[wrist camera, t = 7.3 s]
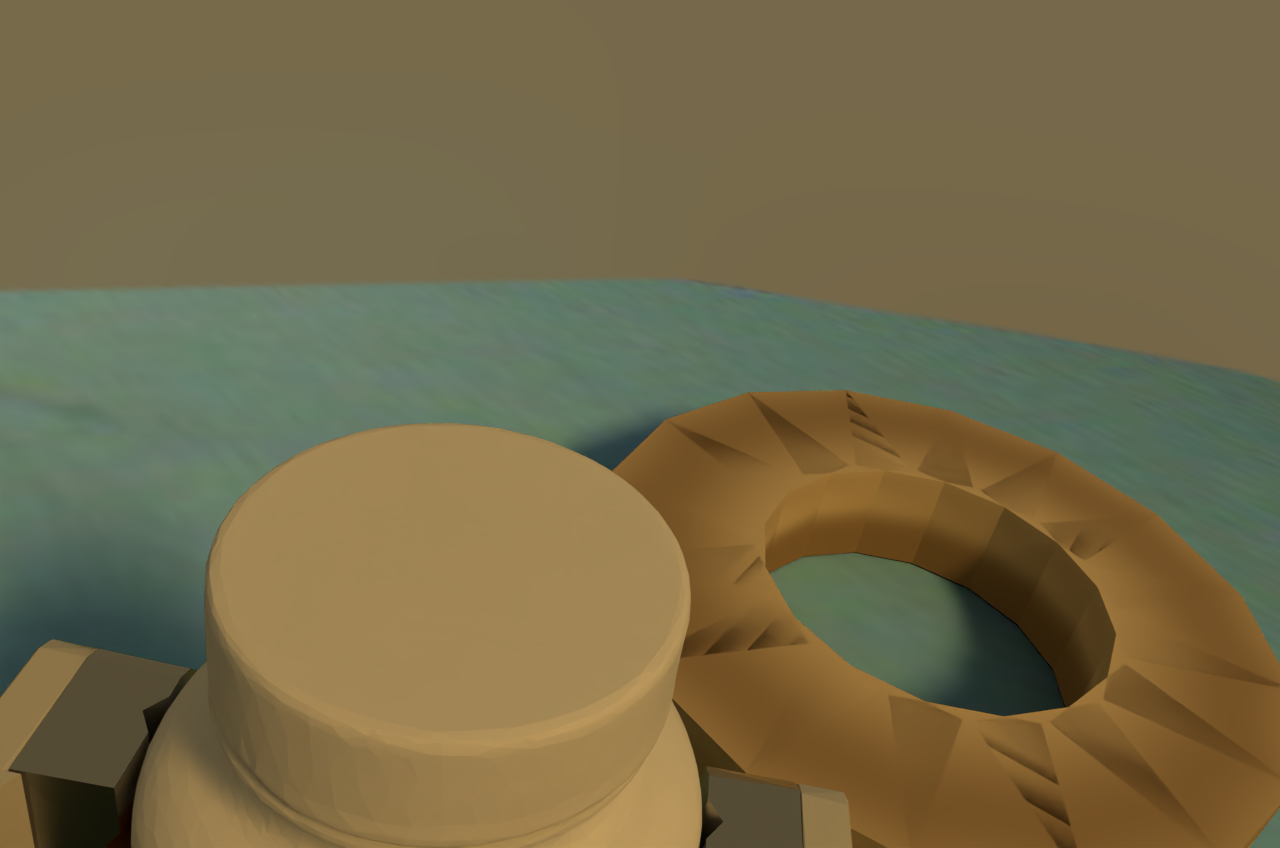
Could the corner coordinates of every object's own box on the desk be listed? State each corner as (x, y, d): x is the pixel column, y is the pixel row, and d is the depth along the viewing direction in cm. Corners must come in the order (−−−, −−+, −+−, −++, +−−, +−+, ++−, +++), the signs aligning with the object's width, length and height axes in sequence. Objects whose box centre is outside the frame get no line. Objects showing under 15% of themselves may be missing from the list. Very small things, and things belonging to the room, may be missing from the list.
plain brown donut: (529, 891, 18) (549, 793, 17) (616, 428, 30) (632, 348, 28) (1359, 1044, 18) (1444, 959, 17) (1122, 526, 30) (1161, 451, 29)
